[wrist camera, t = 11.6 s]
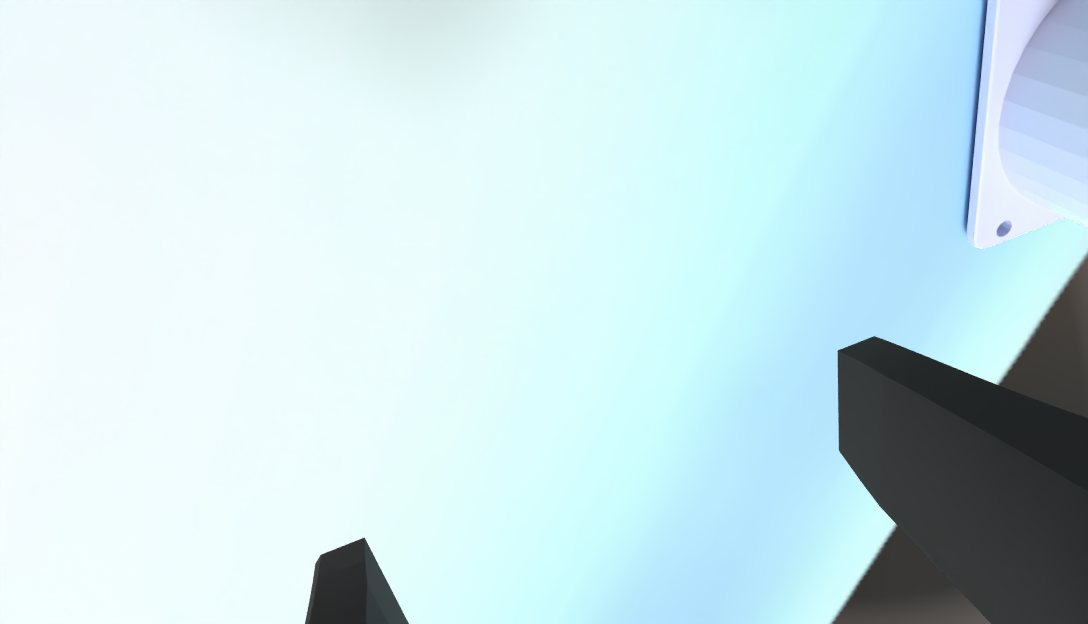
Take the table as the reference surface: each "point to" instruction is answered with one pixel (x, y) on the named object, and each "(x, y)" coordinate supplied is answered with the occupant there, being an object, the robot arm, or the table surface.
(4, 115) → the table surface
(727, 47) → the table surface
